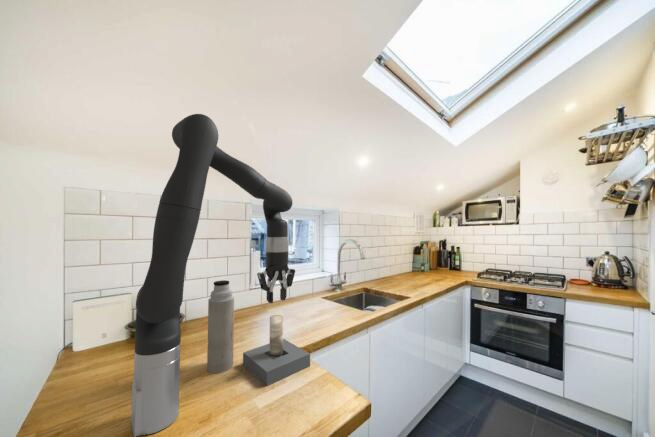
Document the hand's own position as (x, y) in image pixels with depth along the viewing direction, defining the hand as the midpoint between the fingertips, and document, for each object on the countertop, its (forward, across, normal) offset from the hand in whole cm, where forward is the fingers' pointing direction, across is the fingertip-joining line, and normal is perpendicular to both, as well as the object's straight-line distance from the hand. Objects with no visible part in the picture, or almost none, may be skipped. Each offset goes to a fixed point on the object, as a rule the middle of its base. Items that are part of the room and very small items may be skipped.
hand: (276, 300), depth 86 cm
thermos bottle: (+21, -14, +12) cm, 28 cm away
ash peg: (+21, 0, 0) cm, 21 cm away
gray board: (+21, 0, 0) cm, 21 cm away
